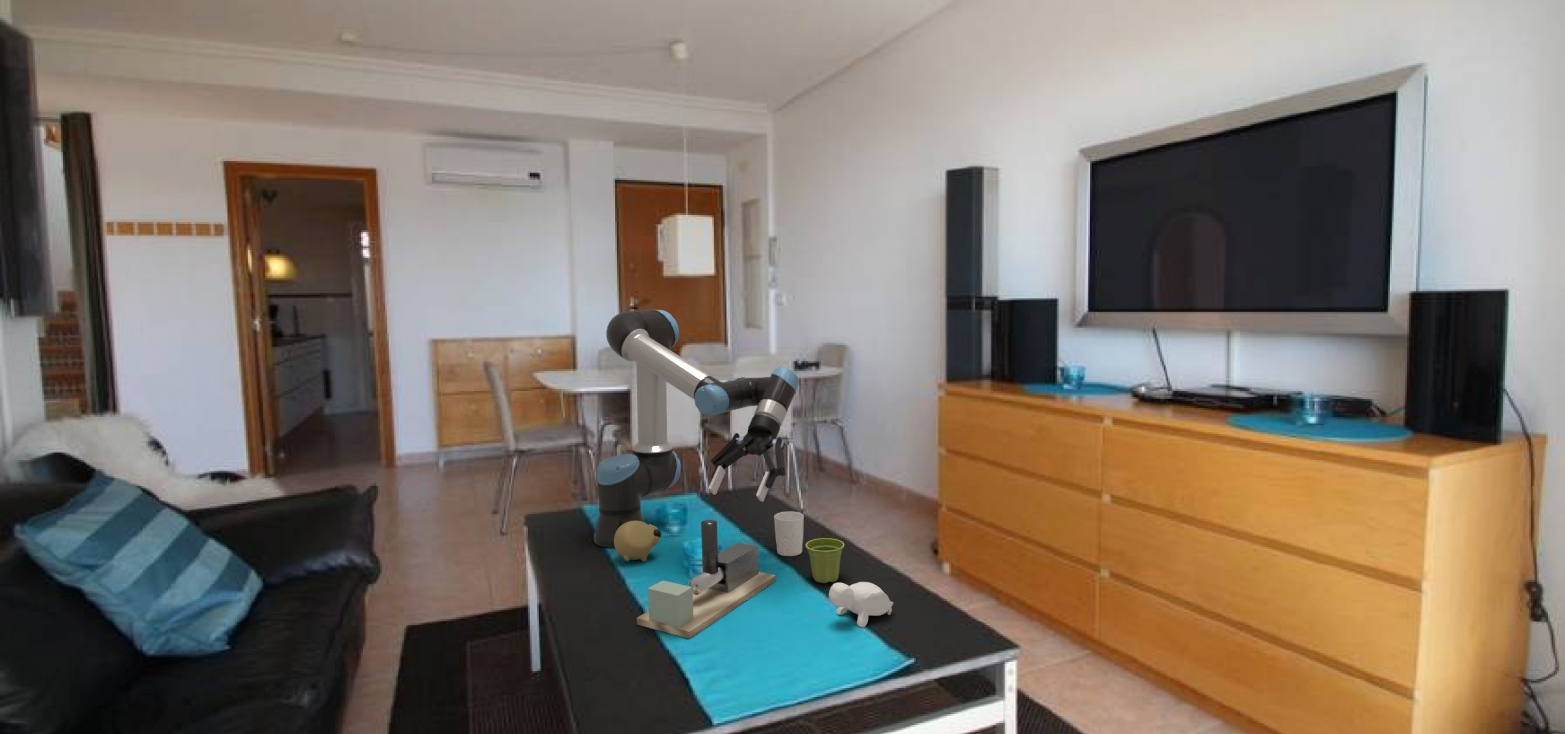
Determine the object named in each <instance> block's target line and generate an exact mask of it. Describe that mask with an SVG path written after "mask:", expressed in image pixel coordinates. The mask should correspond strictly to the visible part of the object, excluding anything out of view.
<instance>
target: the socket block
mask: <svg viewBox="0 0 1565 734" xmlns="http://www.w3.org/2000/svg"><path fill="white" fill-rule="evenodd" d="M647 597H648V598H647V600H648V611H649V620H652V621H656V622H659V623H663V624H667V625H671V626H674V627H678V628H679V627H681V626H683V625H684V624H686V623H687V622H689V621H690V620H692V619H694V618H693V591H692V587H689V586H688V585H684V584H680V583H675V582H672V581H666V580H661V581H659V582H657V583H655V584H654V585H651V586H649V587H648V588H647Z"/></svg>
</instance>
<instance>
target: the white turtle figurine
mask: <svg viewBox="0 0 1565 734" xmlns="http://www.w3.org/2000/svg"><path fill="white" fill-rule="evenodd" d="M828 599H829V601H830V603H832V604H833V605H835V607H837V609H836V611H835V612H836V614H837V615H839V616H841V615H844V614H845V613H847V612H848V611H851V612H852V613H854V614H856V615H857V621H856V624H857V626H858V627H860V628H865V627H866V626H867V624H868V621H869V616H875V617H876V616H881V615H885V614H887V615H889V616H890V615H891V614H892V611H893V609H892V607H893V605H894V602H893V601H891V600H890V598H889V595H887V594H886V593H885V592H884V591H883V589H881V587H879V586H878V585H876V584H874V583H872V582H868V581H859V582H856V583H853V584H851V585H848V584H846V583H843V582H834V583H833V584H832V585H831V586H830V589H829V592H828Z"/></svg>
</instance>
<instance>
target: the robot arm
mask: <svg viewBox="0 0 1565 734" xmlns="http://www.w3.org/2000/svg"><path fill="white" fill-rule="evenodd" d="M605 335H606V340H607V343H608V345H609V347H610V348H611V350H613V352H614V353H616V354H617V355H618V356H619V357H621V358H623V359H624V360H626V361H627V362H635V363H636V366H635V367H636V368H635V369H636V371H635V372H636V408H637V409H636V412H637V413H636V414H637V416H636V417H637V443H636V444H635V445H633V447H632V453H629V454H628V453H627V454H625V453H621V454H619V455H612V456H610V457H607V458H605V459H602V461H600V463H599V464H598V465H597V468H596V470H597V474H596V483H597V493H598V494H597V495H598V518H597V521H596V525H595V530H594V532H593V542H594V544H595V545H597V546H599V547H602V548H612V549H614V548H615V546H614V537H615V533H616V531H617V529H618V528H619V527H620V526H621V525H623V524H624V523H626V522H629V521H641V522H644V523H646V522H645V519H644V516H643V513H642V509H641V507H642V505H641V504H642V503H641V498H644V497H646V496H649V495H652V494H655V493H659V492H663V491H665V490H667V489H669V488H671V487H672V486H674V485H675V484H676V483H677V482H678V481H679V478H680V475H681V470H682V465H681V460H680V458H679V457H678V454H677V453H676V451H674V450H673V446H672V444H671V443H669V442H668V411H667V409H668V408H667V405H668V404H667V401H668V400H667V399H668V398H667V395H668V393H667V383H668V384H670V385H671V386H672V387H674V388H675V389H677V390H679V391H680V392H682V393H684V394H685V395H686V396H688V397H689V398H691V399H693V400H694V404H695V407H696V408H697V410H698V412H700V413H701V414H702V415H706V416H717V415H721V414H723V413H728V412H731V411H735V410H739V409H744V408H748V407H756V406H757V407H756V408H755V411H754V413H753V415H752V418H751V420H750V422H749V425H748V427H747V432H746V434H745V435H744V436H743V435H740V434H739V433H738V432H736V433H734V435H733V436H732V438H731V440H730V441H729V442H727V444H725V446H724V447H723V448H722V449H720V451H719V452H718V453H716V455H715V456H714V457H713V458H711V460H710V462H711V464H712V465H713V466H714V467H715V468H714V469H713V472H712V474H711V479H712V480H711V481H710V484H709V485H708V488H707V489H708V490H709V492H710V493H712V494H713V495H716V494H717V492H718V490H719V488H720V486H721V484H722V482H723V479H724V478H725V476H726V475H725V474H726V469H727V468H729V467H730V466H731V465H732V464H734V463H735V462H737V461H738V460H740V459H741V458H742V457H746V456H748V455H751V456H753V455H756V456H761V455H762V456H763V458H764V460H765V463H766V465H767V468H768V471H765V473H764V475H763V478H762V479H761V482H760V485H759V487H758V489H757V492H756V495H755V496H756V497H757V499H758V500H759V502H762V503H763V502H764V500H765V498H766V496H767V494H768V492H769V489H772V488H773V486H774V483H775V481H776V478H777V477H779V476H780V477H781V476H782V477H785V476H786V464H785V455H784V450H785V449H784V448H785V447H786V446H785V445H786V443H785V442H784V440H783V439H782V437H781V436H778V435H779V433H780V430H781V427H782V425H783V423H784V420H785V418H786V415H787V414H788V413H787V412H788V411H789V408H790V406H791V403H792V401H793V400H794V396H795V395H796V394H797V389H798V387H799V383H800V379H799V376H798V375H797V373H796V372H795V371H794V370H792V369H790V368H788V367H786V366H785V367H784V366H780V367H779V366H778V367H777V368H775V369H774V370H773V371H772V372H771V373H770V376H764V377H763V376H762V377H737V378H732V379H730V380H729V381H724V382H723V381H720V380H719V379H717V378H715V377H714V376H712V375H710V374H709V373H707V372H705V371H704V370H703V369H701V368H699V367H697V366H696V365H695V364H693V363H691V362H689V361H687V359H685V358H683V357H682V356H680V355H678V354H677V353H675V352H673V351H672V348H673V347H675V345H676V344H677V342H678V341H679V337H680V329H679V325H678V323H677V320H676V319H675V318H674V317H673V316H672V314H671V313H670V312H667V311H666V310H663V309H643V310H633V311H632V310H631V311H630V310H627V311H621V312H620V313H618V314H617V313H616V315H614V316H613V317H612V318H611V319H610V321H609V322H608V324H607V327H606V333H605ZM773 447H774V448H775V449H774V450H775V452H774V453H775V461H776V463H775V464H776V466H775V464H774V461H773V458H772V455H771V453H770V451H769V450H770V449H771V448H773Z"/></svg>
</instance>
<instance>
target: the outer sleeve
mask: <svg viewBox="0 0 1565 734" xmlns="http://www.w3.org/2000/svg"><path fill="white" fill-rule="evenodd" d="M718 564H719V565H724V566H725V568H726V578H725V579H723V580H722V581H720V582H718V583H717V584H715V585H713V586H712V587H710V589H714V590H718V591H723V592H727V593H729V592H730V591H732V590H734V589H735V588H737V587H738V586H740V585H742V584H743V583H745V582H746V581H748V580H749V579H751V578H753V577H754V576H756V575H757V574H759V572H760V571H759V570H760V569H759V568H760V567H759V566H760V563H759V545H753V544H748V543H742V542H736V543H734V544H732V545H730V546H729V547H728V548H726V549H724V550H722V551H720V552H718Z"/></svg>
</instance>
